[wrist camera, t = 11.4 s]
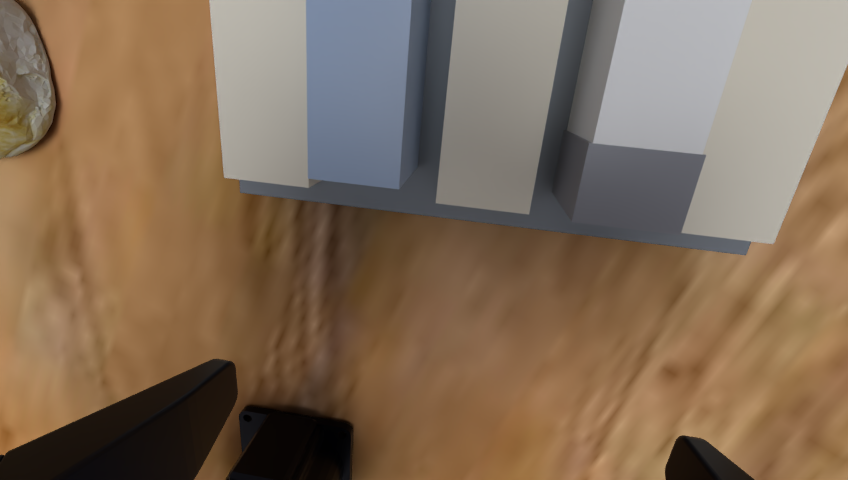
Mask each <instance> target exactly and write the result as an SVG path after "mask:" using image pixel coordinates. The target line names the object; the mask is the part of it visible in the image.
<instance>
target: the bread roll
mask: <svg viewBox="0 0 848 480" xmlns="http://www.w3.org/2000/svg"><path fill="white" fill-rule="evenodd" d="M55 107H56V100H55V90H54V87H53V83H52V80H51V73H50V66H49V61H48V58H47V55H46V52H45V49H44V47H43V44H42V41H41V39H40V37H39V35H38V33H37V30H36V27H35V26H34V24H33V22H32V20H31V18H30V17H29V16H28V15H27V13H26V12H25V11H24V10H23V8H22V7H21V6H20V5H19V4H18V3H16V2H15V1H14V0H0V159H1V158H4V157H13V156H17V155H19V154H21V153H23V152H25V151H27V150H29V149H30V148H32V147H33V146H35V145H36V144H37V143H38V141H39V140H41V139H42V138H43V137H44V136H45V134H46V133H47V131H48V129H49V127H50V126H51V124H52V122H53V116H54V111H55Z"/></svg>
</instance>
